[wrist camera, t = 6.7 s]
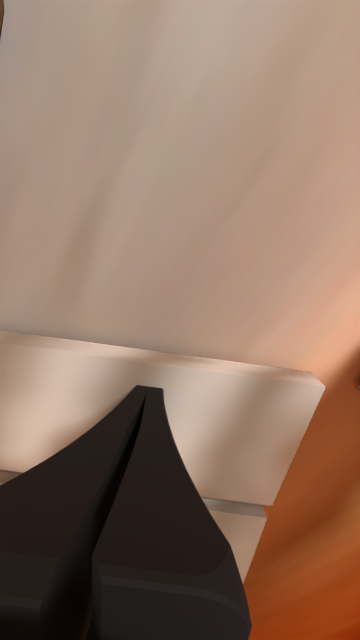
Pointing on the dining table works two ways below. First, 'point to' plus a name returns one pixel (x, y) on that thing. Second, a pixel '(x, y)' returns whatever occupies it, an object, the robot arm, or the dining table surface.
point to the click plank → (180, 403)
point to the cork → (1, 13)
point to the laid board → (223, 524)
